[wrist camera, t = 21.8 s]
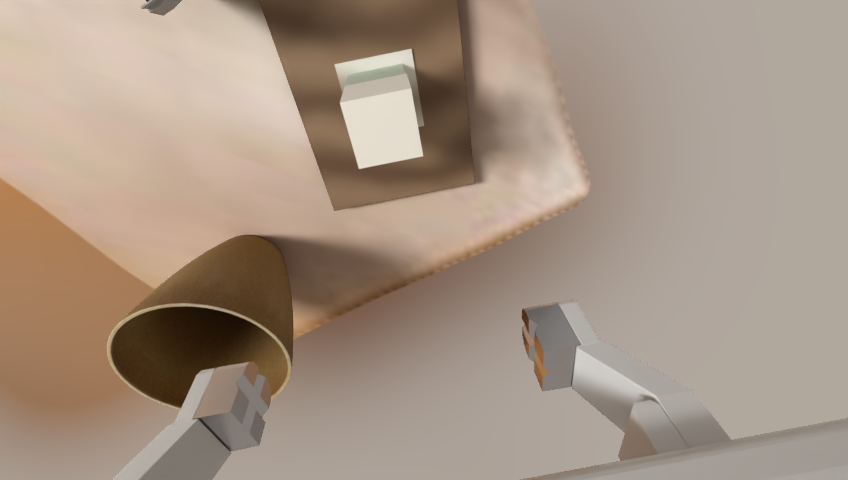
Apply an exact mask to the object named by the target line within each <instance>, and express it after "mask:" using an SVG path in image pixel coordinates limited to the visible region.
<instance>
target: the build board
mask: <svg viewBox="0 0 848 480" xmlns="http://www.w3.org/2000/svg"><path fill="white" fill-rule="evenodd" d="M259 1H260V4H261V7H262V10H263V13H264V15H265V18H266V21H267V24H268V27H269V29H270V32H271V35H272V38H273V41H274V43H275V46H276V49H277V52H278V55H279V57H280V60H281V63H282V66H283V69H284V71H285V74H286V77H287V80H288V83H289V85H290V88H291V91H292V94H293V96H294V99H295V102H296V105H297V108H298V110H299V113H300V116H301V119H302V122H303V124H304V127H305V130H306V133H307V136H308V138H309V141H310V144H311V147H312V150H313V152H314V155H315V158H316V161H317V164H318V166H319V169H320V172H321V175H322V178H323V180H324V183H325V186H326V189H327V192H328V194H329V197H330V200H331V203H332V206H333V208H334V211H336V210H341V209H346V208H351V207H356V206H361V205H366V204H371V203H376V202H381V201H386V200H391V199H397V198H402V197H407V196H412V195H417V194H422V193H427V192H432V191H437V190H442V189H447V188H452V187H457V186H462V185H467V184H472V183H475V181H474V170H473V160H472V149H471V139H470V129H469V118H468V108H467V97H466V87H465V77H464V66H463V56H462V45H461V35H460V25H459V14H458V4H457V0H259ZM397 64H402V65H403V68H404V71H405V74H406V73H407V77H408V80H409V83H410V86H411V90H412V96H413V101H414V107H415V113H416V118H417V124H418V129H419V135H420V141H421V146H422V152H423V156H422V157H417V158H412V159H407V160H402V161H397V162H392V163H387V164H382V165H377V166H372V167H367V168H362V169H359V167H358V164H357V160H356V157H355V154H354V150H353V147H352V143H351V140H350V136H349V133H348V130H347V126H346V123H345V119H344V116H343V112H342V109H341V105H340V100H341V97H342V94H343V90H344V86H345V83H346V79H347V76H348V74H352V73H357V72H362V71H367V70H372V69H377V68H382V67H387V66H392V65H397Z"/></svg>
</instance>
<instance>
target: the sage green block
mask: <svg viewBox="0 0 848 480" xmlns="http://www.w3.org/2000/svg"><path fill="white" fill-rule="evenodd" d="M401 74H405V71H404V68H403V65H402V64H397V65H392V66H387V67H382V68H377V69H372V70H367V71H362V72H357V73H352V74H348V76H347V79H346V83H345V86H347V85H352V84H357V83H362V82H366V81H371V80H376V79H381V78H386V77H391V76H396V75H401ZM345 86H344V87H345Z"/></svg>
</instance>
